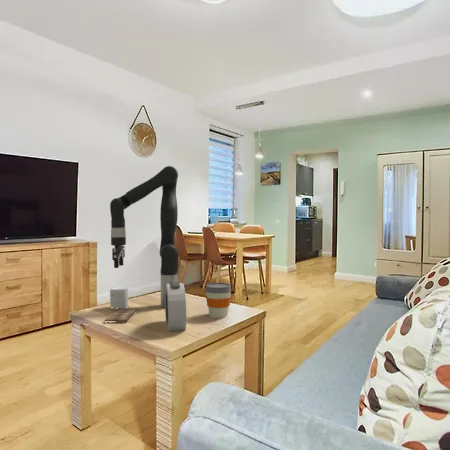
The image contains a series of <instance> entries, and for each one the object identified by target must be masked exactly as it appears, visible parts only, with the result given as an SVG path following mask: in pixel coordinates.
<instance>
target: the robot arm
mask: <svg viewBox="0 0 450 450" xmlns="http://www.w3.org/2000/svg"><path fill="white" fill-rule="evenodd" d="M178 178H179V172H178V170H177V169H176V167H174V166H172V165H168V166H165V167H163V169H161V170H160V171H159V172H158V173H156V174H155V175H154V176H153V177H151V178H149V179H148V180H146V181H144V182H142V183H140V184H139V185H137V186H135V187H133V188H132V189H130V190H128V191H127V192H125V194H123V195H121V196H119V197H117V198H113V199H112V200H111V201H110V203H109V212H110V217H111V219H110V220H111V221H110V222H111V223H110V224H111V225H110V227H111V228H110V245H111V246H114V248H112V249H111V251H112V255H111V256H112V257H111V258H112V260H113V268H115V269H119V267H120V266H121V267H123V266H124V258H125V257H126V254H125V253H126V251H125V246H126V245H127V244H126V243H127V240H126V239H127V234H126V233H127V231H126V219H125V210H126V209H127V208H129V207H130V206H132V205H134V204H135V203H137V202H139V201H141V200H143V199H144V198H146V197H147V196H149V195H151V193H153V192H154V191H155V190H157V189H159V188H161V187H162V188H161V189H162V195H161V200H160V201H161V202H160V209H159V210H160V213H159V214H160V215H159V217H160V218H159V219H160V234H161V235H160V236H161V237H160V247H159V256H160V260H161V261H160V264H161V266H160V307H163V308H165V287H166V284H170V282H173V281H178V280H179V278H178V277H179V276H178V272H179V260H180V259H179V257H180V255H179V250H178V248H177V247H176V244H175V243H176V242H175V235H176V229H177V224H178V214H179V213H178V201H177V183H178V182H177V181H178ZM178 282H179V281H178Z"/></svg>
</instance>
